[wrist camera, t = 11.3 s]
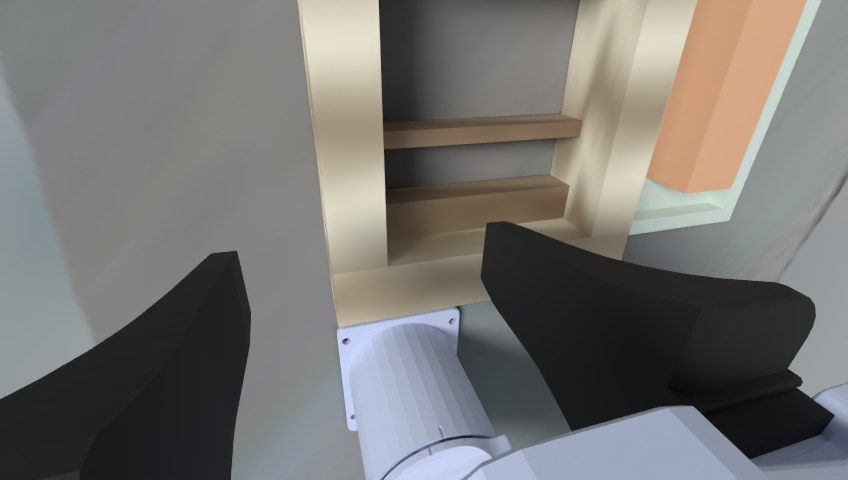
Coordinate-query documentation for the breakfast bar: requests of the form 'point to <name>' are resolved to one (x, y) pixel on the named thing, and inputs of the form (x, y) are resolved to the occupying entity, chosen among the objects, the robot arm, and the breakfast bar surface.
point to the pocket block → (489, 199)
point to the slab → (721, 90)
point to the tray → (682, 210)
